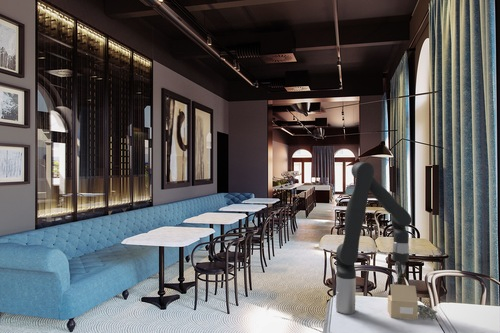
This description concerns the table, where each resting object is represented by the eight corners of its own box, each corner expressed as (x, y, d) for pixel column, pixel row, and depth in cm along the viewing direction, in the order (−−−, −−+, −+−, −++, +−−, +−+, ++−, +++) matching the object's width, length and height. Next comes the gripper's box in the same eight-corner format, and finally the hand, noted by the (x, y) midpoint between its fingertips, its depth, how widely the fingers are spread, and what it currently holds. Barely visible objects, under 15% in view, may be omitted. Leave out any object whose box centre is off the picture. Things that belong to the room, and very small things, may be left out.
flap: (391, 301, 178) (392, 300, 178) (390, 284, 182) (390, 284, 182) (417, 303, 176) (417, 302, 176) (415, 286, 180) (415, 285, 180)
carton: (391, 317, 178) (391, 301, 178) (387, 310, 187) (387, 294, 186) (417, 319, 176) (417, 303, 176) (412, 312, 185) (412, 296, 184)
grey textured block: (437, 320, 176) (438, 312, 176) (421, 319, 177) (421, 311, 177) (430, 311, 187) (430, 303, 187) (414, 310, 188) (414, 302, 188)
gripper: (390, 247, 194) (389, 280, 194) (396, 253, 180) (395, 289, 181) (405, 248, 192) (404, 281, 193) (412, 254, 179) (411, 290, 180)
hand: (399, 285), depth 187 cm, fingers closed
